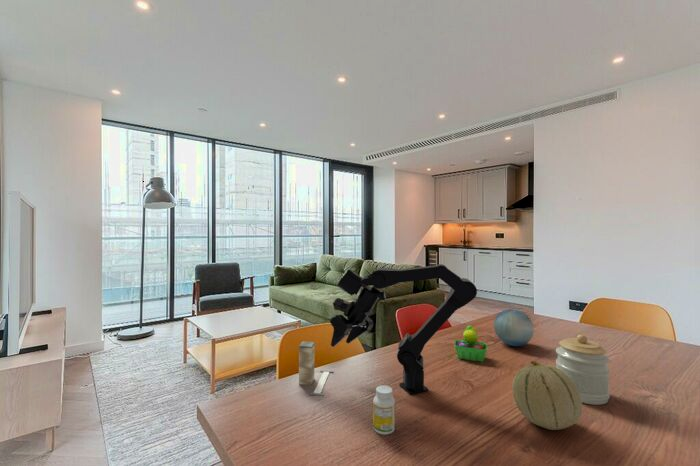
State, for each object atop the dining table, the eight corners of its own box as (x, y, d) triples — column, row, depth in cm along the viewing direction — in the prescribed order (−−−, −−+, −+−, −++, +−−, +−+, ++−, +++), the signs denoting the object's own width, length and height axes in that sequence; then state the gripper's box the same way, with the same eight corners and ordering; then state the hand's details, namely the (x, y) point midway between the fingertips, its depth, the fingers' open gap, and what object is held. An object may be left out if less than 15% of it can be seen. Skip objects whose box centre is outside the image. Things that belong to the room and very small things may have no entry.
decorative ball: (534, 343, 137) (534, 308, 137) (532, 354, 125) (532, 316, 125) (496, 336, 145) (496, 304, 145) (491, 347, 133) (491, 310, 133)
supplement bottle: (387, 438, 74) (387, 397, 74) (368, 429, 78) (368, 389, 78) (399, 427, 78) (399, 388, 78) (381, 419, 82) (381, 381, 82)
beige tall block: (314, 378, 104) (314, 342, 104) (311, 384, 100) (311, 346, 100) (302, 378, 104) (302, 341, 104) (298, 384, 100) (298, 345, 100)
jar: (594, 410, 86) (595, 345, 86) (546, 389, 98) (546, 331, 97) (618, 399, 92) (619, 337, 92) (570, 380, 104) (570, 325, 103)
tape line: (320, 370, 110) (320, 370, 110) (333, 371, 109) (333, 371, 109) (308, 394, 94) (308, 394, 94) (323, 395, 93) (323, 395, 93)
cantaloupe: (584, 452, 70) (584, 383, 70) (509, 430, 78) (509, 368, 77) (579, 418, 82) (579, 360, 82) (514, 402, 90) (515, 349, 90)
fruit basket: (454, 359, 120) (454, 329, 120) (455, 351, 128) (455, 322, 128) (487, 364, 116) (487, 333, 116) (486, 355, 124) (486, 326, 124)
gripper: (360, 290, 113) (338, 326, 115) (330, 288, 97) (305, 330, 99) (384, 309, 107) (360, 347, 109) (357, 310, 91) (330, 355, 93)
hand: (339, 344), depth 103 cm, fingers open, 9 cm apart
